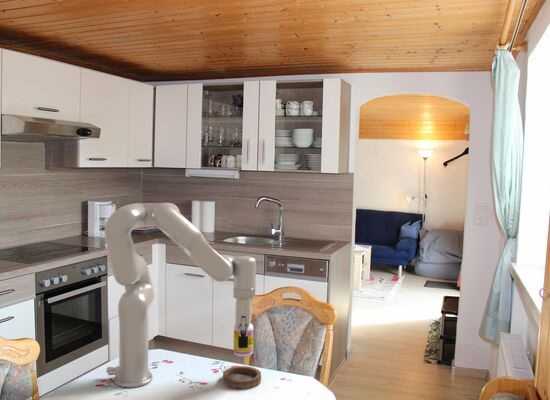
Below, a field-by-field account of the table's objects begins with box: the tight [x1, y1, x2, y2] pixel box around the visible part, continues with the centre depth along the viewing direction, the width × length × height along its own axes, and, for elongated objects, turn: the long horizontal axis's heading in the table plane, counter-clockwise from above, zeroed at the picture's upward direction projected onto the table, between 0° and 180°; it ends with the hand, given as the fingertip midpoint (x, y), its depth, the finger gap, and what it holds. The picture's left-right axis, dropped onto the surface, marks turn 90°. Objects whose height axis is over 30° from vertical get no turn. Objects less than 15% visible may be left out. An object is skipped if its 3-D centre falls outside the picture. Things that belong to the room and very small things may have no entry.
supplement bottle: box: [233, 316, 254, 358], centre depth 171 cm, size 7×7×13 cm
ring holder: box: [222, 365, 262, 390], centre depth 172 cm, size 13×13×3 cm
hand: (243, 343), depth 171 cm, fingers closed on supplement bottle, 6 cm apart
